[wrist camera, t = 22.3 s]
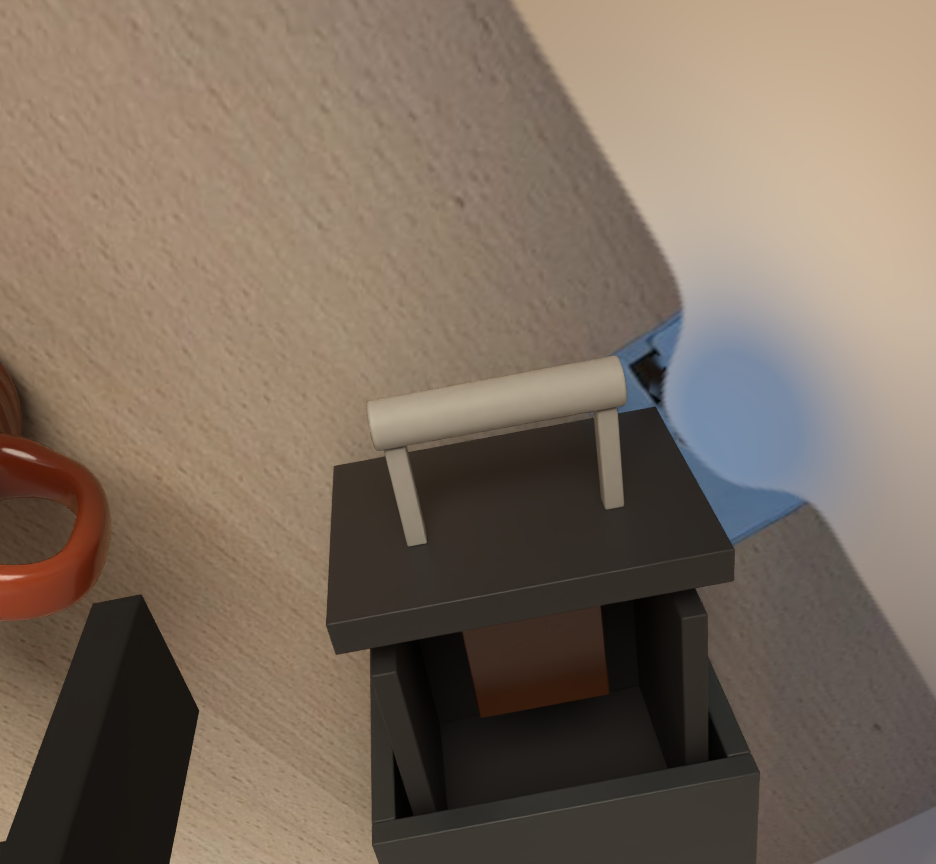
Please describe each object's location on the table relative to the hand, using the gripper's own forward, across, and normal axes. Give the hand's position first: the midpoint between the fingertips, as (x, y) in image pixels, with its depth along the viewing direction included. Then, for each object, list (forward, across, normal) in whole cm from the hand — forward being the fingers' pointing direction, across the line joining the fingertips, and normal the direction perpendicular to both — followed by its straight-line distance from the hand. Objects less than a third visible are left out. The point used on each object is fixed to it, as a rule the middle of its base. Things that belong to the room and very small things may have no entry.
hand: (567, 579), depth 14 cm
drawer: (+15, 0, -11) cm, 19 cm away
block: (+14, 0, -12) cm, 19 cm away
